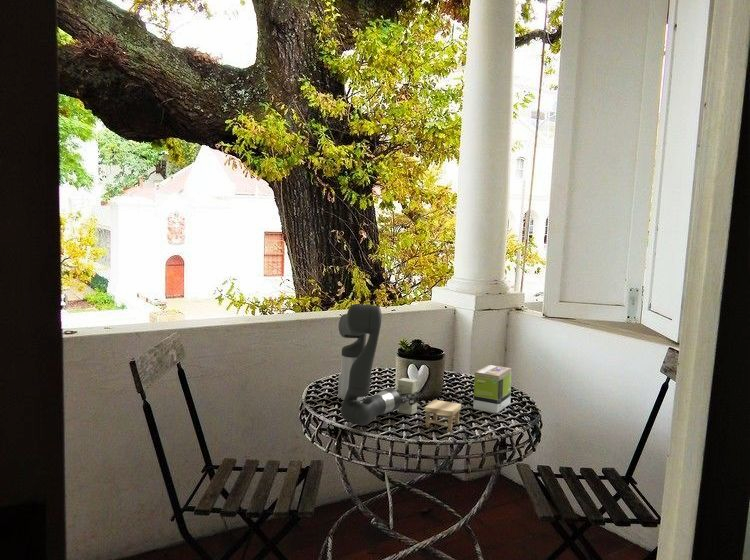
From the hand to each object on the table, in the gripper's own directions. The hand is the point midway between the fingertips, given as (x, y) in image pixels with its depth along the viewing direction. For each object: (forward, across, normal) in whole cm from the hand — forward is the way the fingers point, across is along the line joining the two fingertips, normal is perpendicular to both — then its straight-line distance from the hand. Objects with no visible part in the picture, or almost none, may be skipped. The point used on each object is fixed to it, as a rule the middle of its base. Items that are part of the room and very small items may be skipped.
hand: (410, 392), depth 237 cm
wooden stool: (-6, -17, +7) cm, 19 cm away
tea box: (+27, -20, +7) cm, 34 cm away
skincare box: (-2, 0, +7) cm, 8 cm away
